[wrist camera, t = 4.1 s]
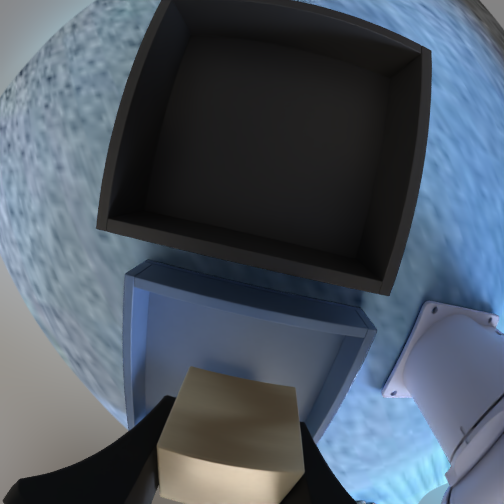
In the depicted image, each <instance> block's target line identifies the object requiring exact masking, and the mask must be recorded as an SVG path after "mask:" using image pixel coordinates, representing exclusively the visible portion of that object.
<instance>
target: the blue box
mask: <svg viewBox="0 0 504 504" xmlns="http://www.w3.org/2000/svg"><path fill="white" fill-rule="evenodd" d="M376 333H377V329H376V327H375V326H374V325H373V323H372V322H371V321H370V319H369V318H368V317H367V315H366V314H365V313H364V311H363V310H362V309H361V308H360V307H354V306H349V305H344V304H339V303H334V302H329V301H324V300H319V299H314V298H309V297H304V296H300V295H295V294H290V293H286V292H281V291H276V290H272V289H267V288H263V287H258V286H254V285H249V284H245V283H241V282H236V281H232V280H228V279H224V278H219V277H215V276H211V275H207V274H203V273H199V272H195V271H191V270H187V269H183V268H179V267H175V266H171V265H167V264H163V263H159V262H155V261H151V260H146V261H145V262H143V263H141V264H140V265H138V266H136V267H135V268H133V269H132V270H130V271H129V272H127V273H125V280H124V298H123V371H124V389H125V401H126V412H127V421H128V429H129V431H130V430H131V429H132V428H133V427H134V426H135V425H137V424H138V423H139V422H140V421H141V420H142V419H143V418H144V417H145V416H146V415H147V414H148V413H149V412H150V411H151V410H152V409H153V408H154V407H155V406H156V405H157V404H158V403H159V402H160V401H161V399H162V398H163V397H164V396H166V395H169V396H173V397H176V398H177V395H178V393H179V391H180V388H181V386H182V384H183V381H184V379H185V377H186V374H187V372H188V369H189V368H190V367H191V366H193V367H196V368H200V369H204V370H208V371H212V372H216V373H221V374H225V375H230V376H234V377H239V378H244V379H249V380H254V381H259V382H265V383H271V384H277V385H283V386H290V387H295V388H296V395H297V403H298V412H299V421H300V422H305V424H306V426H307V428H308V430H309V432H310V434H311V436H312V438H313V440H314V442H315V444H316V445H317V444H318V442H319V440H320V439H321V437H322V436H323V434H324V433H325V431H326V429H327V428H328V426H329V425H330V423H331V421H332V420H333V418H334V416H335V415H336V413H337V411H338V409H339V408H340V406H341V404H342V402H343V400H344V399H345V397H346V395H347V393H348V391H349V389H350V388H351V386H352V384H353V382H354V380H355V378H356V376H357V374H358V372H359V370H360V368H361V366H362V364H363V362H364V360H365V357H366V355H367V353H368V351H369V349H370V347H371V344H372V342H373V340H374V337H375V335H376Z"/></svg>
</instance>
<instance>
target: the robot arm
mask: <svg viewBox="0 0 504 504" xmlns="http://www.w3.org/2000/svg"><path fill="white" fill-rule="evenodd" d="M434 307H435V309H434V311H432V310H433V308H434ZM498 321H499V316H498V315H496V314H493V313H488V312H483V311H478V310H473V309H468V308H463V307H459V306H454V305H449V304H444V303H439V302H435V301H426V302H425V303H424V304H423V306H422V308H421V311H420V313H419V316H418V318H417V320H416V323H415V325H414V327H413V330H412V332H411V334H410V336H409V339H408V341H407V343H406V345H405V347H404V349H403V351H402V353H401V355H400V357H399V359H398V361H397V363H396V365H395V367H394V369H393V371H392V373H391V375H390V377H389V378H388V380H387V382H386V384H385V386H384V387H383V389H382V391H381V394H382V396H383V397H385V398H413V399H414V401H415V403H416V404H417V406H418V408H419V409H420V411H421V413H422V414H423V416H424V418H425V419H426V421H427V423H428V425H429V426H430V428H431V430H432V432H433V433H434V435H435V437H436V439H437V440H438V442H439V444H440V446H441V448H442V449H443V451H444V453H445V455H446V457H447V459H448V460H449V462H450V464H451V467H450V469H449V470H448V471H447V472H446V473H445V476H446V478H447V481H448V483H449V485H450V486H449V487H448V489H447V490H446V492H445V494H444V496H443V499H442V503H441V504H504V334H503V333H502V332H500V331H499V330H498V329H496V326H497V324H498ZM393 391H394V392H393ZM175 400H176V397H173V396H169V395H166V396H164V397H163V398H162V399H161V401H160V402H159V403H158V404H157V405H156V406H155V407H154V408H153V409H152V410H151V411H150V412H149V413H148V414H147V415H146V416H145V417H144V418H143V419H142V420H141V421H140V422H139V423H138V424H137V425H135V426H134V427H133V428H132V429H131V430H130V431H128V432H127V433H126V434H125V435H123V436H122V437H120V438H119V439H118V440H116V441H115V442H114V443H112V444H111V445H109V446H108V447H106V448H104V449H103V450H101V451H99V452H98V453H96V454H94V455H92V456H90V457H88V458H86V459H84V460H82V461H80V462H78V463H76V464H73V465H71V466H68V467H65V468H62V469H60V470H57V471H54V472H50V473H47V474H42V475H38V476H33V477H27V478H22V479H19V480H18V481H17V482H16V483H15V484H14V485H13V486H12V487H11V489H10V490H9V492H8V493H7V495H6V496H5V498H4V499H3V503H4V504H151V503H152V500H153V497H154V495H155V492H156V490H157V488H158V485H159V479H158V464H157V443H158V441H159V438H160V436H161V433H162V431H163V429H164V426H165V424H166V422H167V419H168V417H169V414H170V412H171V410H172V407H173V405H174V402H175ZM300 430H301V439H302V449H303V458H304V469H305V472H304V474H303V475H302V477H301V478H300V479H299V480H298V482H297V483H296V484H295V486H294V487H293V488H292V489H291V490H290V492H289V493H288V494H287V495H286V496H285V498H284V499H283V500H282V501H281V502H280V503H279V504H358V503H357V502H356V501H355V500H354V499H353V498H352V497H351V496H350V495H349V494H348V492H347V491H346V490H345V489H344V487H343V486H342V485H341V484H340V482H339V481H338V479H337V478H336V477H335V475H334V474H333V472H332V471H331V469H330V468H329V466H328V464H327V463H326V461H325V460H324V458H323V456H322V455H321V453H320V451H319V449H318V447H317V445H316V444H315V442H314V440H313V438H312V436H311V434H310V432H309V430H308V428H307V426H306V424H305V422H300Z"/></svg>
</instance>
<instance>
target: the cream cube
mask: <svg viewBox="0 0 504 504" xmlns="http://www.w3.org/2000/svg"><path fill="white" fill-rule="evenodd" d="M157 464H158V479H159V492H160V496H161V497H163V498H166V499H170V500H174V501H177V502H181V503H185V504H279V503H280V502H281V501H282V500H283V499H284V498H285V496H286V495H287V494H288V493H289V492H290V490H291V489H292V488H293V487H294V486H295V484H296V483H297V482H298V480H299V479H300V478H301V477H302V475H303V474H304V472H305V469H304V458H303V449H302V439H301V430H300V421H299V412H298V403H297V395H296V388H295V387H290V386H283V385H277V384H271V383H265V382H259V381H254V380H249V379H244V378H239V377H234V376H230V375H225V374H221V373H216V372H212V371H208V370H204V369H200V368H196V367H193V366H191V367H190V368H189V369H188V372H187V374H186V377H185V379H184V381H183V384H182V386H181V388H180V391H179V393H178V395H177V398H176V400H175V402H174V405H173V407H172V410H171V412H170V414H169V417H168V419H167V422H166V424H165V426H164V429H163V431H162V433H161V436H160V438H159V441H158V443H157Z"/></svg>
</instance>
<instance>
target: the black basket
mask: <svg viewBox="0 0 504 504" xmlns="http://www.w3.org/2000/svg"><path fill="white" fill-rule="evenodd" d="M431 80H432V58H431V50H429V49H427V48H425V47H424V46H421V45H420V44H418V43H416V42H414V41H412V40H410V39H408V38H405V37H403V36H401V35H399V34H397V33H395V32H392V31H390V30H388V29H385V28H383V27H381V26H378V25H376V24H373V23H370V22H368V21H365V20H362V19H359V18H357V17H354V16H351V15H348V14H344V13H341V12H338V11H334V10H331V9H327V8H324V7H320V6H316V5H312V4H307V3H303V2H298V1H293V0H161V2H160V4H159V6H158V8H157V10H156V12H155V14H154V16H153V18H152V20H151V22H150V24H149V27H148V29H147V31H146V33H145V36H144V38H143V40H142V43H141V45H140V48H139V50H138V53H137V55H136V58H135V60H134V63H133V66H132V68H131V71H130V74H129V77H128V80H127V83H126V86H125V89H124V92H123V95H122V99H121V102H120V105H119V109H118V112H117V116H116V120H115V124H114V127H113V131H112V136H111V140H110V144H109V149H108V153H107V158H106V163H105V169H104V174H103V180H102V186H101V193H100V200H99V207H98V215H97V225H96V229H99V230H103V231H107V232H111V233H115V234H119V235H123V236H127V237H131V238H135V239H139V240H143V241H147V242H151V243H155V244H159V245H164V246H168V247H172V248H176V249H180V250H184V251H189V252H193V253H197V254H201V255H205V256H210V257H214V258H218V259H223V260H227V261H231V262H235V263H240V264H244V265H248V266H253V267H257V268H262V269H266V270H270V271H275V272H279V273H284V274H288V275H293V276H297V277H302V278H306V279H311V280H315V281H320V282H324V283H329V284H334V285H338V286H343V287H347V288H352V289H357V290H362V291H366V292H371V293H376V294H380V295H385V296H390V293H391V290H392V287H393V285H394V282H395V279H396V276H397V273H398V270H399V266H400V263H401V260H402V257H403V253H404V250H405V246H406V243H407V239H408V236H409V232H410V228H411V224H412V220H413V216H414V212H415V207H416V203H417V198H418V193H419V188H420V183H421V178H422V172H423V166H424V160H425V153H426V146H427V138H428V129H429V118H430V104H431Z"/></svg>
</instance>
